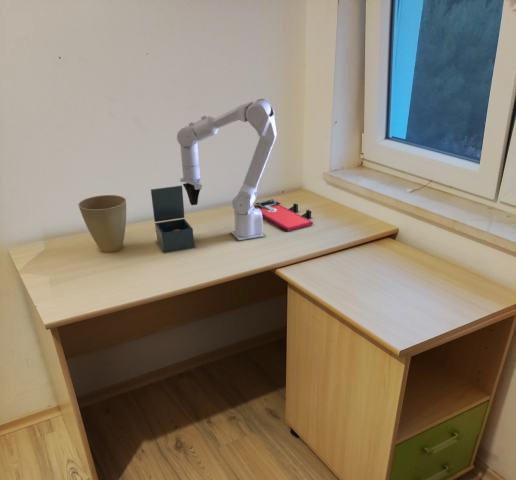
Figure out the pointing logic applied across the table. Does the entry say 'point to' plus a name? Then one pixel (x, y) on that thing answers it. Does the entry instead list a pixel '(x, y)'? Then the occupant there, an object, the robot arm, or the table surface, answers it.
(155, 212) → the bin lid
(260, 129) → the robot arm
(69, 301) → the table surface
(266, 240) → the table surface
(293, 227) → the red board with handle
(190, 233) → the bin
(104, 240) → the plant pot
